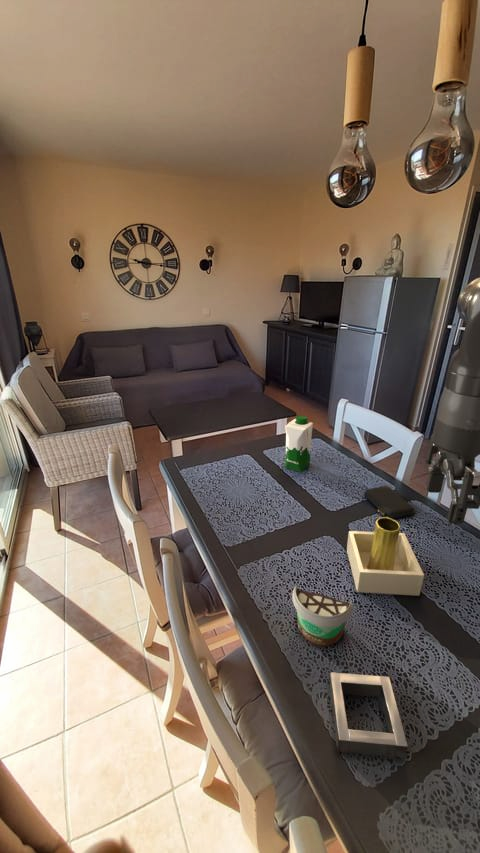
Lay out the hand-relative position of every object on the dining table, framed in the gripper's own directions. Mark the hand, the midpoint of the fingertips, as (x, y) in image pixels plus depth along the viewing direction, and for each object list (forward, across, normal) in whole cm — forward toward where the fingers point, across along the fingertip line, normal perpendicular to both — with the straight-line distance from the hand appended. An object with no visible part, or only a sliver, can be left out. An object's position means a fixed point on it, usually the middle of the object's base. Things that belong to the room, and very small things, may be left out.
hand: (443, 505), depth 61 cm
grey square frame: (+33, -16, +13) cm, 39 cm away
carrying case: (+33, +45, -7) cm, 56 cm away
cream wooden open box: (+33, +17, +2) cm, 37 cm away
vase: (+32, +17, +2) cm, 37 cm away
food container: (+33, -2, +19) cm, 39 cm away
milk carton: (+33, +68, +20) cm, 78 cm away
